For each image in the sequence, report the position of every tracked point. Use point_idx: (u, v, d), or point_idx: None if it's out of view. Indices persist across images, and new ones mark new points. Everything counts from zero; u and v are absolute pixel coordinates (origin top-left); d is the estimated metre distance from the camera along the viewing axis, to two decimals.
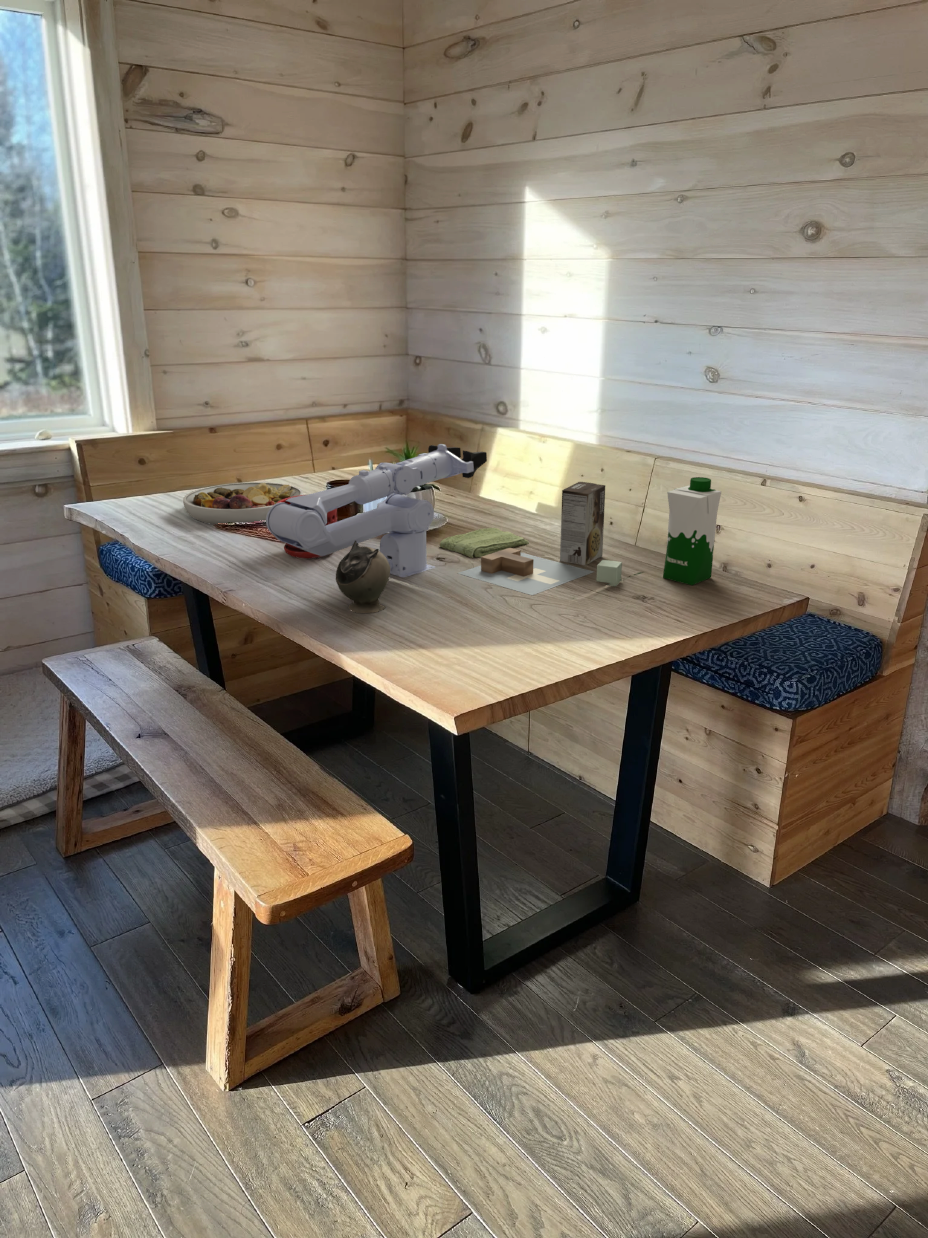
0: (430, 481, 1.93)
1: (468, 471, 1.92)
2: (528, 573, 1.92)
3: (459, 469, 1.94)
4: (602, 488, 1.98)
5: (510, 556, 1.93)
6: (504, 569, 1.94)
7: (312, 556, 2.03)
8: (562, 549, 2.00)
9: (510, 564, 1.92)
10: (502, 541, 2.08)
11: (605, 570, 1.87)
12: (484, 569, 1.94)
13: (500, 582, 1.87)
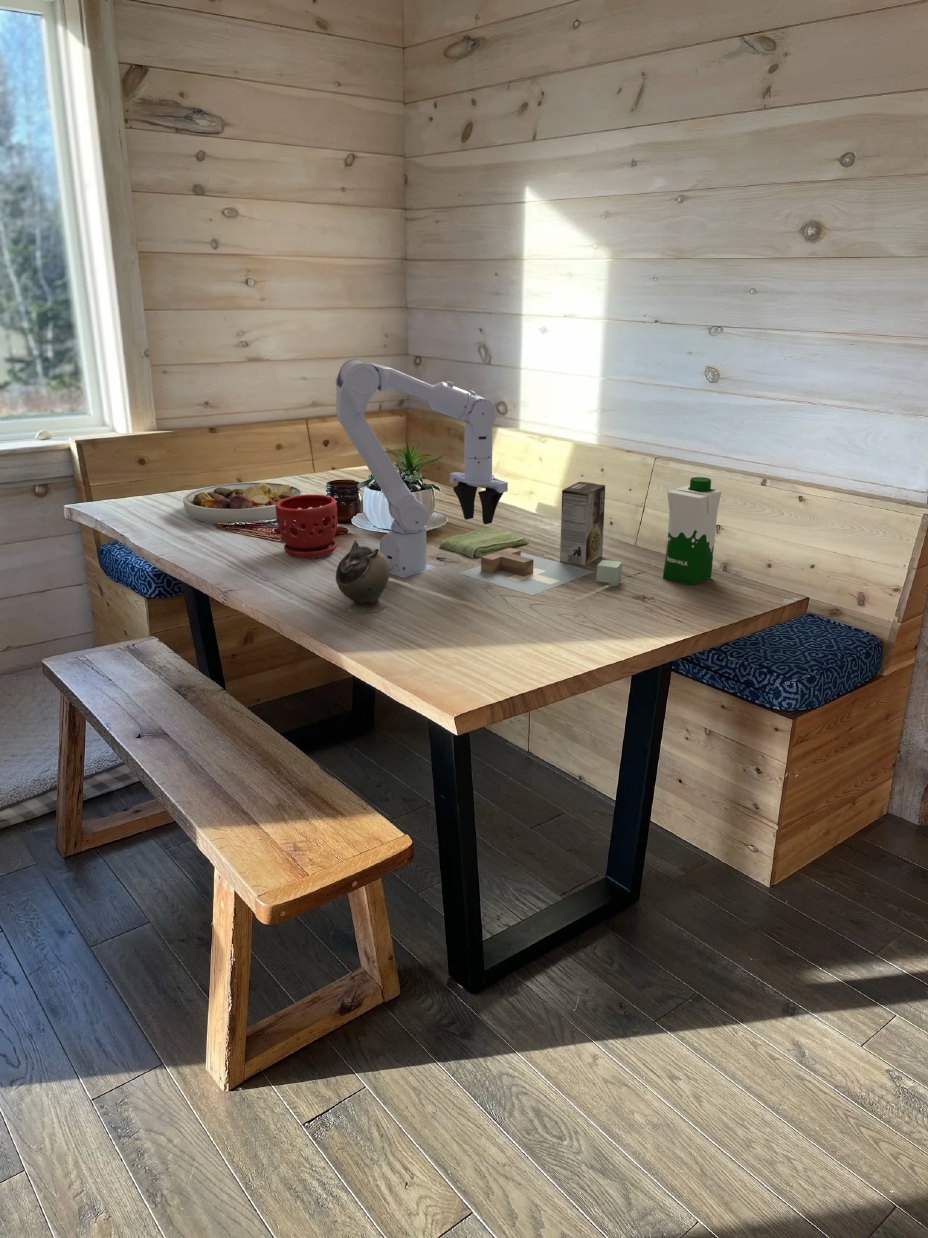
0: (469, 454, 1.90)
1: (502, 485, 1.89)
2: (528, 573, 1.92)
3: None
4: (602, 488, 1.98)
5: (510, 556, 1.93)
6: (504, 569, 1.94)
7: (312, 556, 2.03)
8: (562, 549, 2.00)
9: (510, 564, 1.92)
10: (502, 541, 2.08)
11: (605, 570, 1.86)
12: (484, 569, 1.94)
13: (500, 582, 1.87)
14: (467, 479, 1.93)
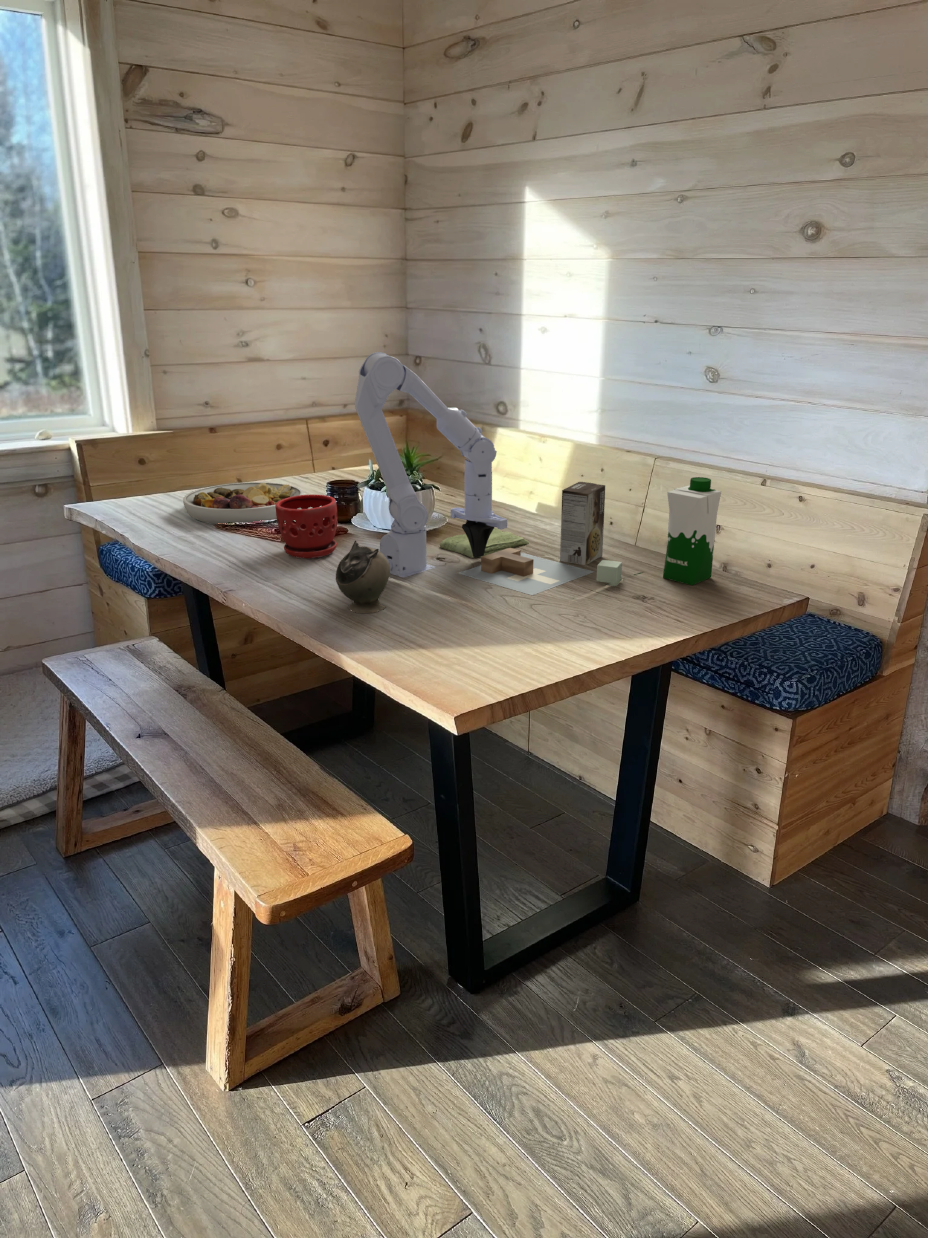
0: (469, 491, 1.93)
1: (502, 522, 1.92)
2: (528, 573, 1.92)
3: None
4: (602, 488, 1.98)
5: (510, 556, 1.93)
6: (504, 569, 1.94)
7: (312, 556, 2.03)
8: (562, 549, 2.00)
9: (510, 564, 1.92)
10: (502, 541, 2.08)
11: (605, 570, 1.86)
12: (484, 569, 1.94)
13: (500, 582, 1.87)
14: (467, 516, 1.95)
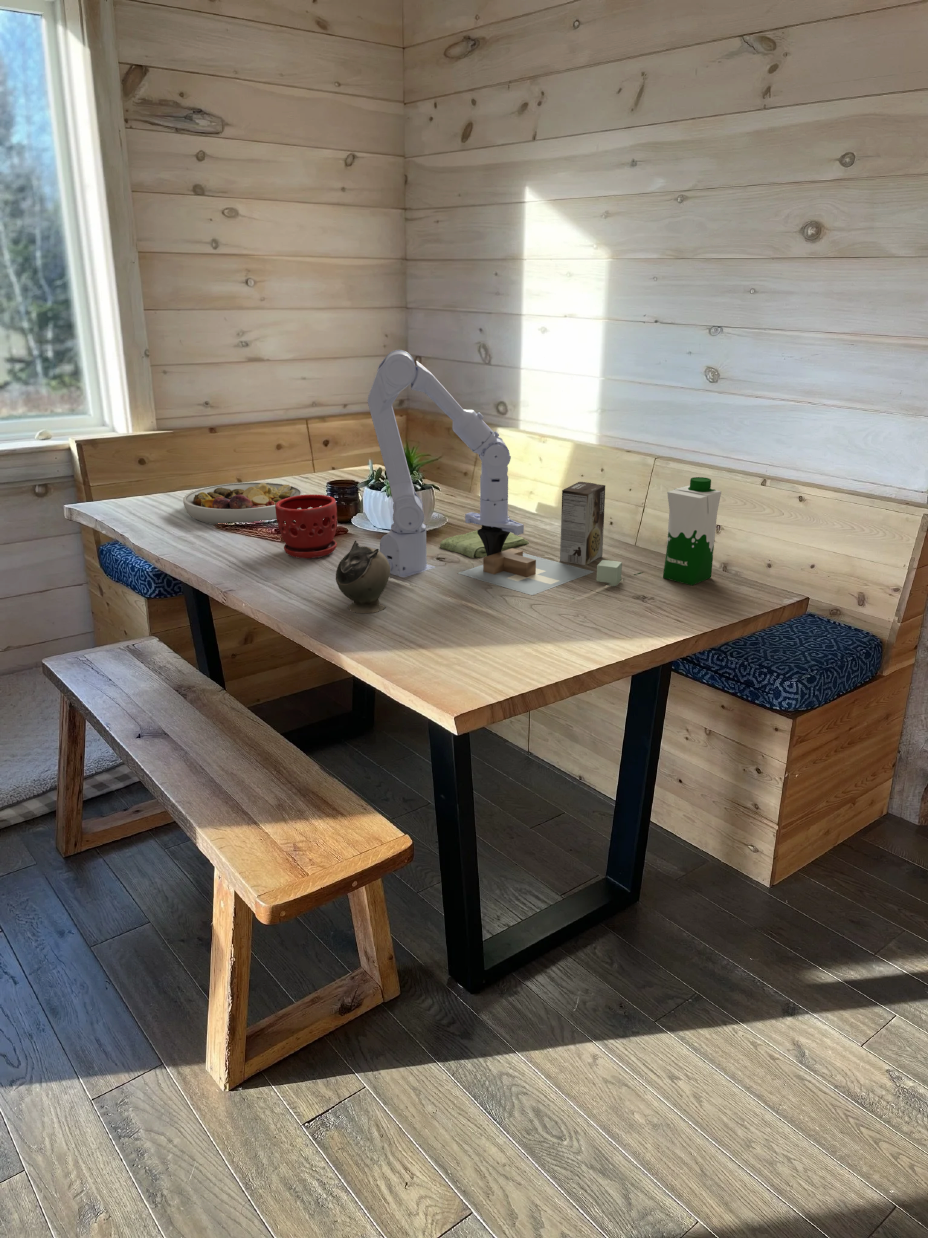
0: (483, 496, 1.91)
1: (518, 527, 1.89)
2: (531, 574, 1.91)
3: (509, 524, 1.91)
4: (602, 488, 1.98)
5: (512, 557, 1.93)
6: (506, 570, 1.93)
7: (312, 556, 2.03)
8: (562, 549, 2.00)
9: (512, 565, 1.92)
10: None
11: (605, 570, 1.86)
12: (486, 570, 1.93)
13: (500, 582, 1.87)
14: (483, 521, 1.93)
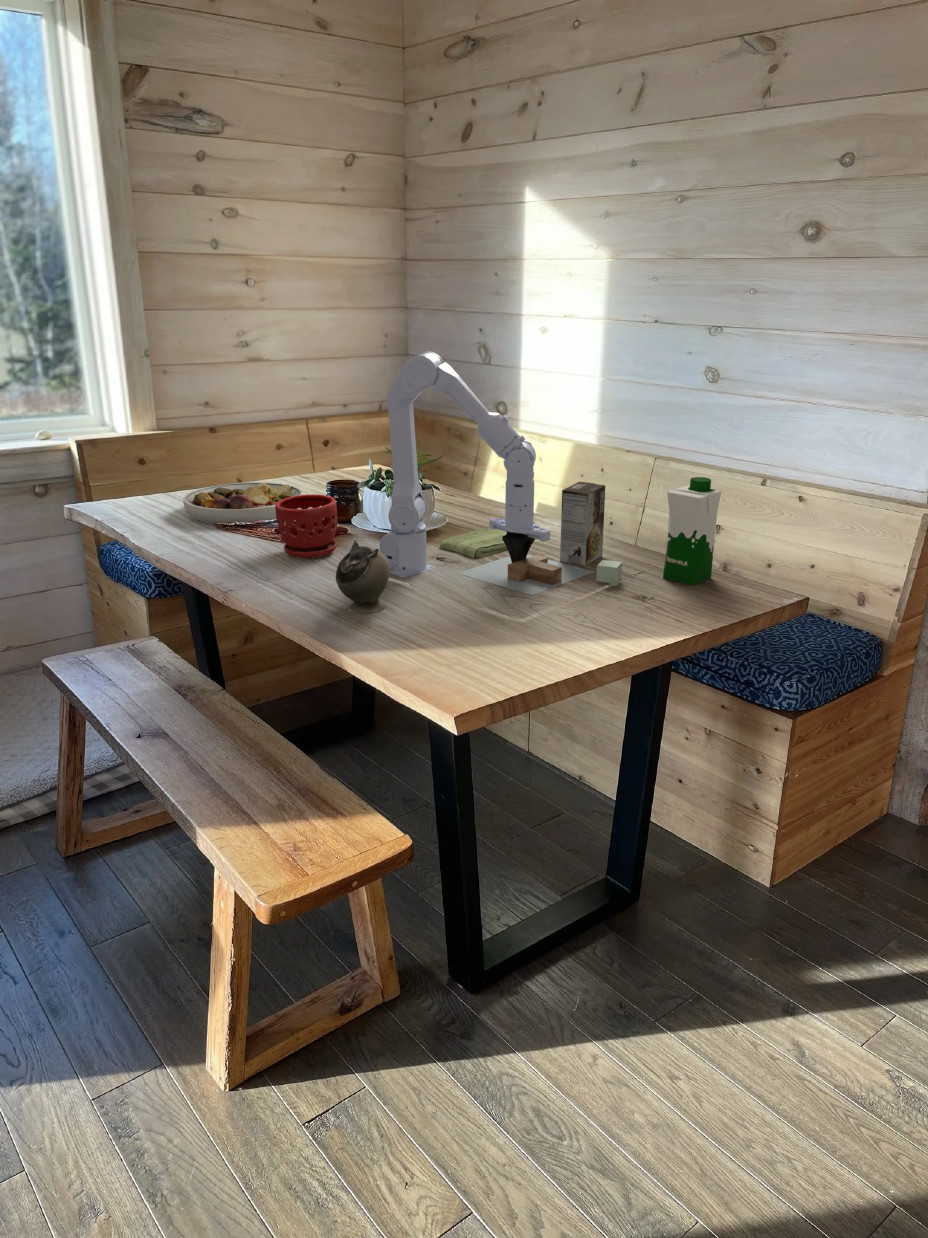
0: (507, 501, 1.87)
1: (544, 533, 1.85)
2: (556, 581, 1.87)
3: (535, 531, 1.86)
4: (602, 488, 1.98)
5: (538, 564, 1.88)
6: (531, 577, 1.89)
7: (312, 556, 2.03)
8: (562, 549, 2.00)
9: (537, 572, 1.87)
10: (502, 541, 2.08)
11: (605, 570, 1.86)
12: (511, 577, 1.89)
13: (500, 582, 1.87)
14: (508, 527, 1.88)
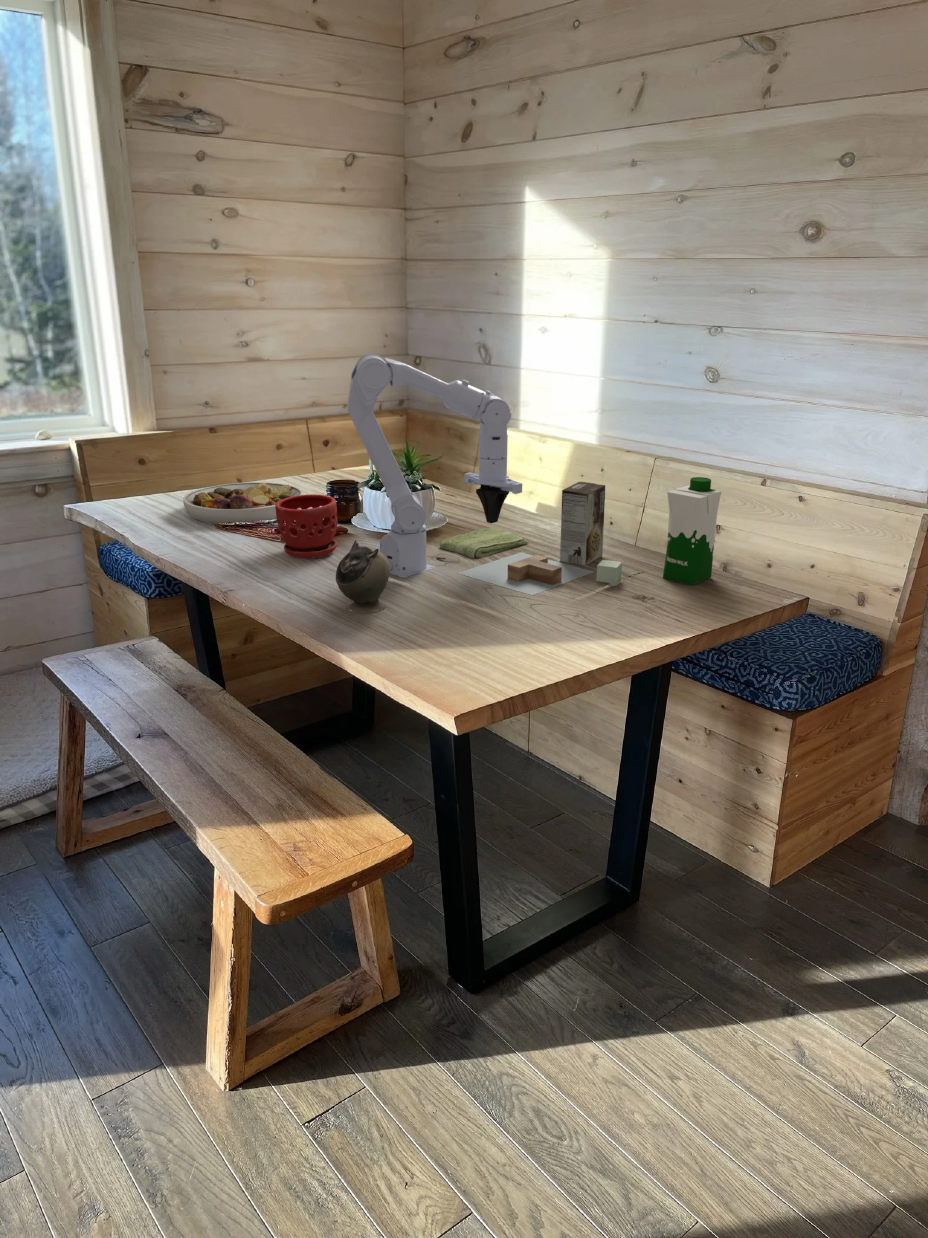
0: (483, 454, 1.89)
1: (516, 486, 1.88)
2: (556, 581, 1.87)
3: None
4: (602, 488, 1.98)
5: (538, 564, 1.88)
6: (531, 577, 1.89)
7: (312, 556, 2.03)
8: (562, 549, 2.00)
9: (537, 572, 1.87)
10: (502, 541, 2.08)
11: (605, 570, 1.86)
12: (511, 577, 1.89)
13: (500, 582, 1.87)
14: (481, 480, 1.91)
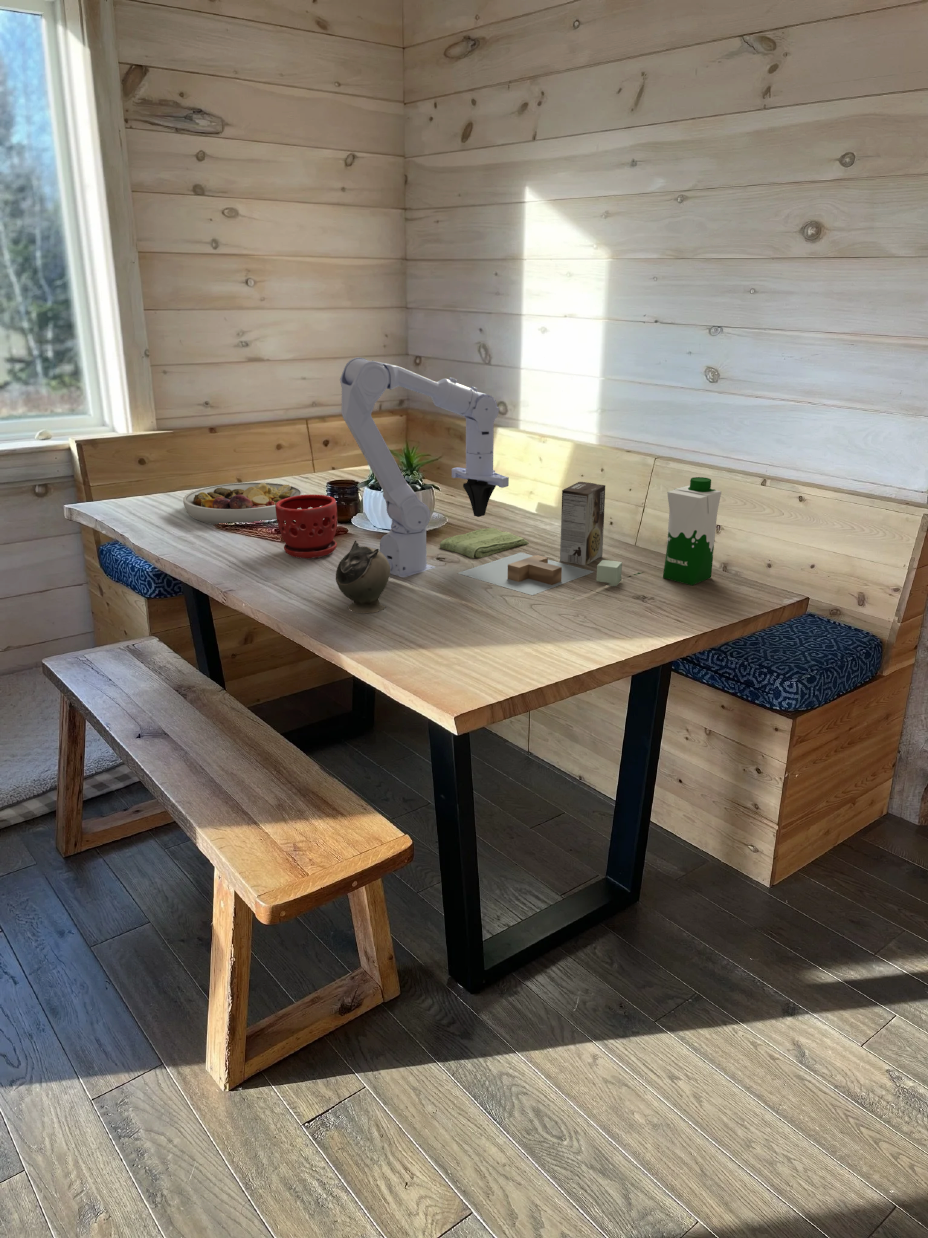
0: (472, 449, 1.92)
1: (503, 479, 1.91)
2: (556, 581, 1.87)
3: None
4: (602, 488, 1.98)
5: (538, 564, 1.88)
6: (531, 577, 1.89)
7: (312, 556, 2.03)
8: (562, 549, 2.00)
9: (537, 572, 1.87)
10: (502, 541, 2.08)
11: (605, 570, 1.86)
12: (511, 577, 1.89)
13: (500, 582, 1.87)
14: (468, 474, 1.95)
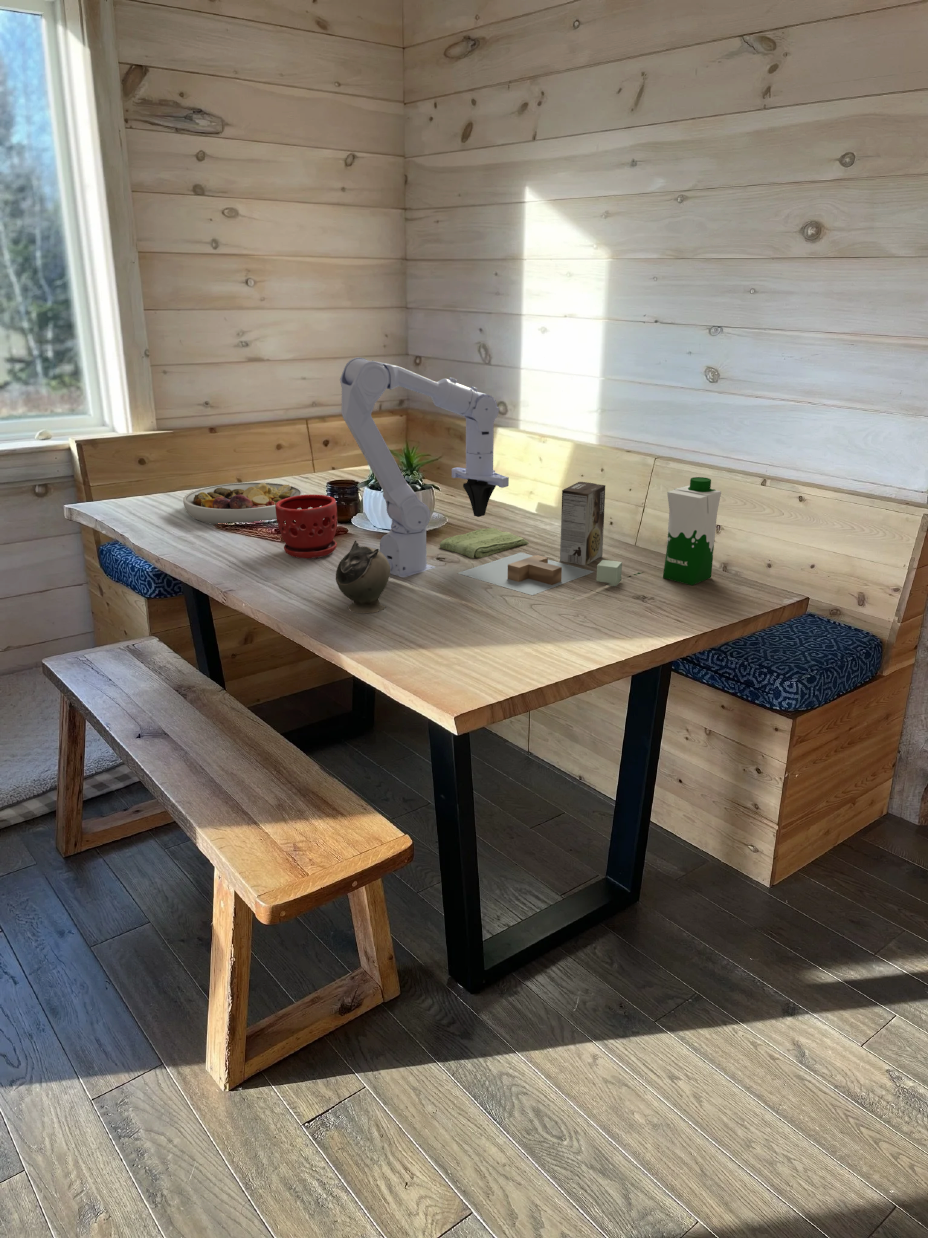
0: (472, 449, 1.92)
1: (503, 479, 1.91)
2: (556, 581, 1.87)
3: None
4: (602, 488, 1.98)
5: (538, 564, 1.88)
6: (531, 577, 1.89)
7: (312, 556, 2.03)
8: (562, 549, 2.00)
9: (537, 572, 1.87)
10: (502, 541, 2.08)
11: (605, 570, 1.86)
12: (511, 577, 1.89)
13: (500, 582, 1.87)
14: (468, 474, 1.95)
